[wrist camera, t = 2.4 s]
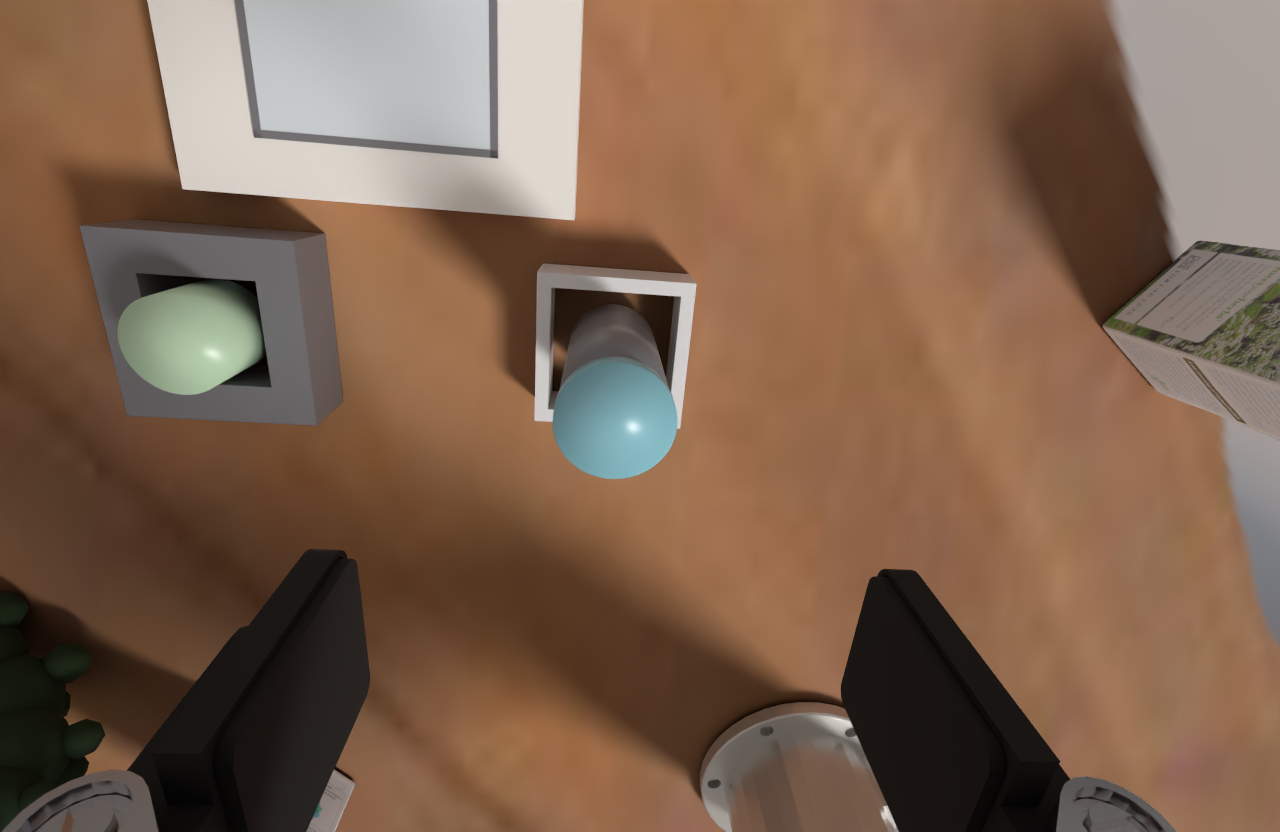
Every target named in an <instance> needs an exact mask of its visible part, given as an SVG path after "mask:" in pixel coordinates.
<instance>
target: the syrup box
mask: <svg viewBox="0 0 1280 832" xmlns="http://www.w3.org/2000/svg"><path fill="white" fill-rule="evenodd" d="M1103 328H1104V330H1105V331H1106V332H1107V333H1108V335H1109V336H1110V337H1111V338H1112V339H1113V340H1114V342H1115V343H1116V344H1117V345H1118V347H1119V348H1120V349H1121V350H1122V351H1123V352H1124V354H1125V355H1126V356H1127V357H1128V358H1129V359H1130V361H1131V362H1132V363H1133V364H1134V365H1135V366H1136V368H1137V369H1138V370H1139V371H1140V372H1141V373H1142V375H1143V376H1144V377H1145V378H1146V379H1147V381H1148V382H1149V383H1150V384H1151V385H1152V386H1153V387H1154V389H1155V390H1156V391H1158V392H1159V393H1161V394H1164V395H1166V396H1169V397H1171V398H1174V399H1177V400H1179V401H1182V402H1184V403H1187V404H1190V405H1193V406H1195V407H1198V408H1201V409H1204V410H1206V411H1209V412H1211V413H1214V414H1216V415H1218V416H1221V417H1223V418H1226V419H1229V420H1231V421H1234V422H1236V423H1239V424H1241V425H1244V426H1246V427H1248V428H1251V429H1253V430H1256V431H1258V432H1261V433H1263V434H1265V435H1268V436H1270V437H1273V438H1275V439H1277V440H1280V250H1273V249H1264V248H1256V247H1247V246H1239V245H1231V244H1226V243H1216V242H1208V241H1197V242H1196V243H1195V244H1194V245H1192V246H1191V247H1190V248H1189V249H1188V250H1187V251H1185V252H1184V253H1183V254H1182V255H1181V256H1180V257H1179V258H1178V259H1176V260H1175V261H1174V262H1173V263H1172V264H1171V265H1170V266H1168V267H1167V268H1166V269H1165V270H1164V271H1163V272H1162V273H1161V274H1159V275H1158V276H1157V277H1156V278H1155V279H1154V280H1153V281H1152V282H1150V283H1149V284H1148V285H1147V286H1146V287H1145V288H1143V289H1142V290H1141V291H1140V292H1139V293H1138V294H1137V295H1136V296H1135V297H1133V298H1132V299H1131V300H1130V301H1129V302H1128V303H1126V304H1125V305H1124V306H1123V307H1122V308H1121V309H1120V310H1118V311H1117V312H1116V313H1115V314H1114V315H1113V316H1112V317H1111V318H1109V319H1108V320H1107V321H1106V322H1105V323H1104V324H1103Z"/></svg>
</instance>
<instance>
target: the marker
mask: <svg viewBox="0 0 1280 832" xmlns="http://www.w3.org/2000/svg"><path fill="white" fill-rule="evenodd" d="M677 420H678V419H677V411H676V407H675V403H674V400H673V396H672V394H671V391H670V389H669V387H668V384H667V380H666V377H665V373H664V370H663V366H662V363H661V359H660V356H659V352H658V349H657V345H656V341H655V338H654V334H653V332H652V329H651V327H650V325H649V323H648V322H647V321H646V319H645V318H644V317H643V316H642V315H641V314H639V313H638V312H637V311H635V310H633V309H632V308H629V307H627V306H623V305H618V304H606V305H601V306H598V307H595V308H593V309H591V310H589V311H588V312H586V313H585V314H584V315H583V316H582V317H581V318H580V319H579V320H578V321H577V322H576V324H575V326H574V328H573V330H572V332H571V336H570V340H569V345H568V350H567V355H566V360H565V365H564V370H563V375H562V380H561V385H560V390H559V393H558V395H557V398H556V402H555V407H554V412H553V431H554V436H555V439H556V442H557V444H558V446H559V448H560V450H561V451H562V453H563V454H564V456H565V457H566V458H567V459H568V460H569V461H570V462H571V463H572V464H573V465H575V466H576V467H577V468H579V469H580V470H582V471H584V472H586V473H588V474H591V475H594V476H597V477H601V478H608V479H622V478H628V477H632V476H636V475H638V474H641V473H643V472H645V471H647V470H649V469H650V468H652V467H653V466H655V465H656V464H657V463H658V462H659V461H661V460H662V458H663V457H664V456H665V455H666V454H667V452H668V451H669V449H670V448H671V445H672V443H673V441H674V438H675V435H676V431H677Z"/></svg>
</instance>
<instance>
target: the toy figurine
mask: <svg viewBox="0 0 1280 832" xmlns="http://www.w3.org/2000/svg"><path fill="white" fill-rule="evenodd" d="M28 610H29V606H28V604H27V603H26V602H25V600H24V599H23V598H22V597H21V596H20V595H19V594H14V593H9V592H3V593H0V832H2V831H3V830H4V828H5V827H6V826H7V825H8V824H9V823H10V822H11V821H12V820H13V819H14V818H15V817H16V816H17V815H18V814H19V813H20V812H21V811H22V810H24V809H25V808H26V807H28V806H29V805H31V804H32V803H33V802H35V801H36V800H37V799H39V798H40V797H41V796H43V795H44V794H46V793H48V792H50V791H52V790H53V789H55V788H57V787H59V786H61V785H63V784H65V783H66V782H68V781H71V780H74V779H77V778H80V777H82V776H84V775H85V773H86V772H87V769H88V765H89V762H88V761H87V759H86V758H85V757H84V756H85V755H88V754H90V753H92V752H94V751H95V750H96V749H97V748H98V746H99V745H100V743H101V741H102V739H103V738H104V736H105V733H104V730H103V728H102V725H101V723H99V722H95V721H92V720H88V719H85V720H82V721H80V722H77V723H75V724H72V725H68V723H67V720H66V719H65V718H64V717H65V716H66V715H67V713H68V711H69V708H70V697H71V695H70V694H69V693H68V692H66V684H65V683H71V682H73V681H74V680H76V679H77V678H79V677H80V676H81V675H83V674H84V673H86V672H87V670H88V668H89V667H90V665H91V656H92V652H91V651H90V650H89V649H87V648H86V647H85V646H83V645H82V644H78V643H62V644H61V645H59V646H57V647H56V648H54V649H52V650H51V651H49V652H48V653H47V654H46V655H45V656H44V657H43V658H42V659H41V658H39V657H36V656H32V655H30V651H29V647H28V643H27V640H26V639H25V638H24V636H23V635H22V634H21V633H20V632H19V630H18V629H17V628H16V627H17V626H18V625H19V623H20V622H21V620H22V619H23V618H24V616H25V615H26V613H27V612H28Z"/></svg>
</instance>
